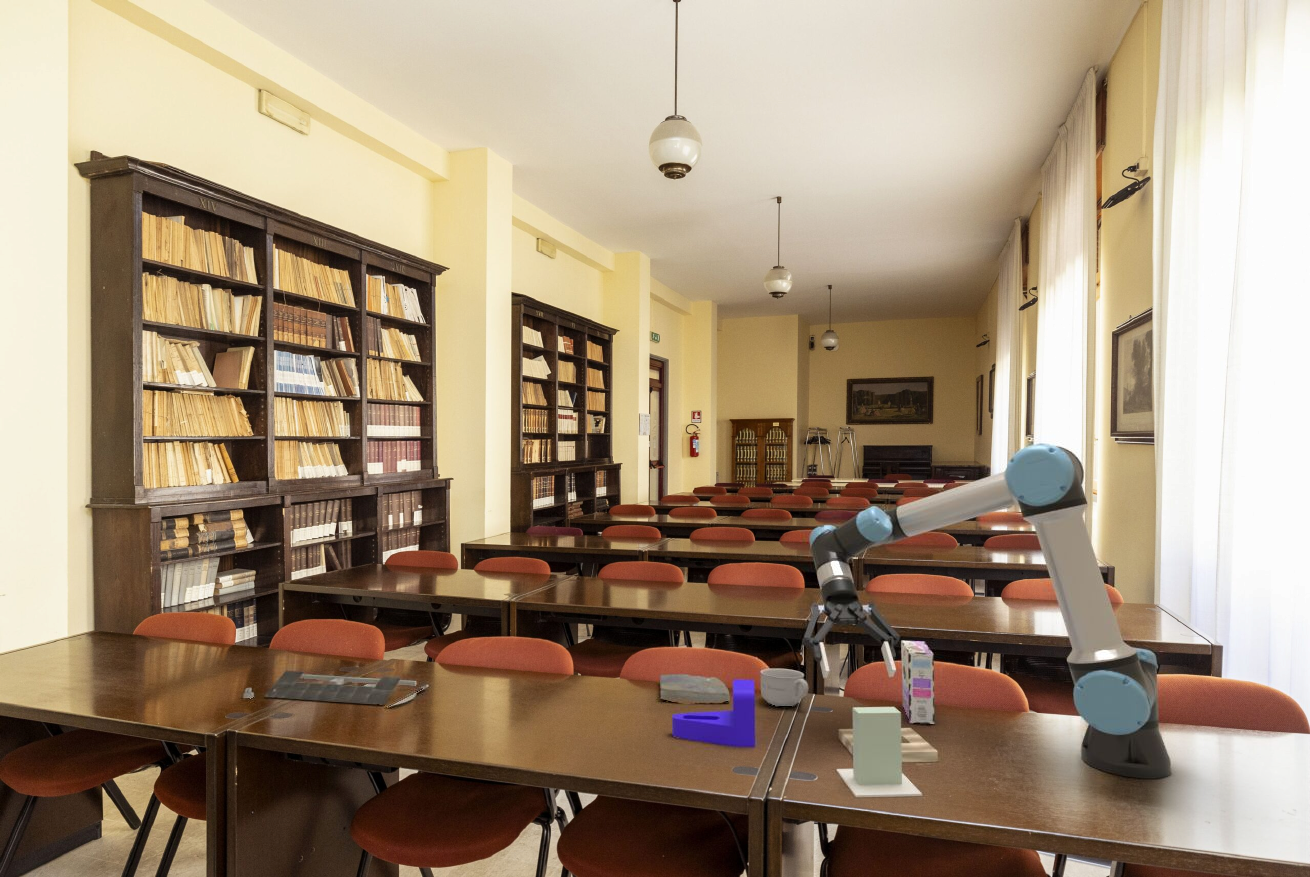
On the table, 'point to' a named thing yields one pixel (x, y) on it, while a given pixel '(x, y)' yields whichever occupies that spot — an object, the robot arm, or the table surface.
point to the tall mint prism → (877, 745)
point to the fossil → (693, 688)
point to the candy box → (918, 682)
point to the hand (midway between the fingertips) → (859, 674)
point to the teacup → (783, 686)
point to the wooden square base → (910, 745)
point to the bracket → (722, 720)
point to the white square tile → (878, 787)
